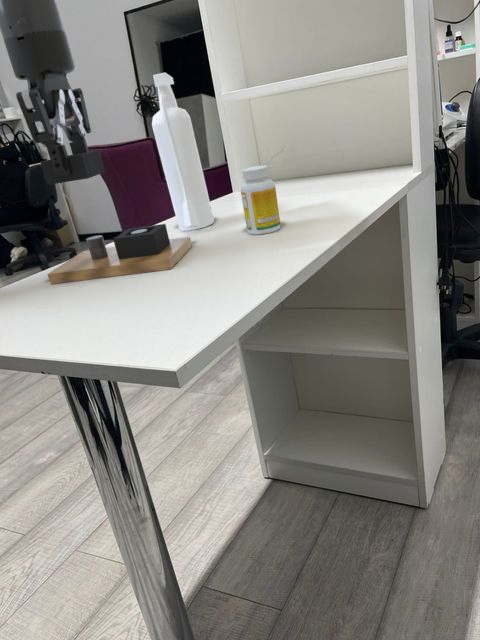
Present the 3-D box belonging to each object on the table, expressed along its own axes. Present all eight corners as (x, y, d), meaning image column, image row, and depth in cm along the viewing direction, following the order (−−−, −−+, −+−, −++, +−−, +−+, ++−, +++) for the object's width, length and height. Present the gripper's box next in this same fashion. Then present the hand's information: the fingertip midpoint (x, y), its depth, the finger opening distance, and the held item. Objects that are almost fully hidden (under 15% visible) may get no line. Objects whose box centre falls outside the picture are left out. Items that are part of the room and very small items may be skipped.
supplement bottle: (241, 235, 85) (229, 172, 81) (260, 226, 89) (250, 165, 85) (268, 235, 82) (258, 170, 78) (287, 225, 86) (278, 163, 82)
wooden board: (50, 284, 77) (40, 253, 75) (85, 259, 87) (77, 232, 85) (171, 269, 73) (163, 236, 71) (192, 245, 84) (185, 217, 82)
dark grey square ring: (47, 185, 73) (40, 162, 72) (67, 178, 78) (60, 156, 77) (88, 178, 72) (81, 154, 71) (105, 172, 77) (99, 150, 76)
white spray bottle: (170, 238, 92) (131, 75, 82) (182, 223, 103) (149, 78, 92) (208, 232, 91) (175, 67, 81) (216, 217, 102) (188, 70, 92)
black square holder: (118, 259, 77) (112, 239, 76) (132, 248, 82) (127, 228, 81) (158, 254, 76) (153, 233, 75) (170, 243, 81) (165, 223, 80)
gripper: (35, 43, 75) (73, 168, 82) (-27, 35, 62) (24, 184, 69) (85, 32, 74) (119, 161, 81) (32, 21, 61) (77, 175, 68)
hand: (75, 171), depth 75 cm, fingers closed on dark grey square ring, 6 cm apart
